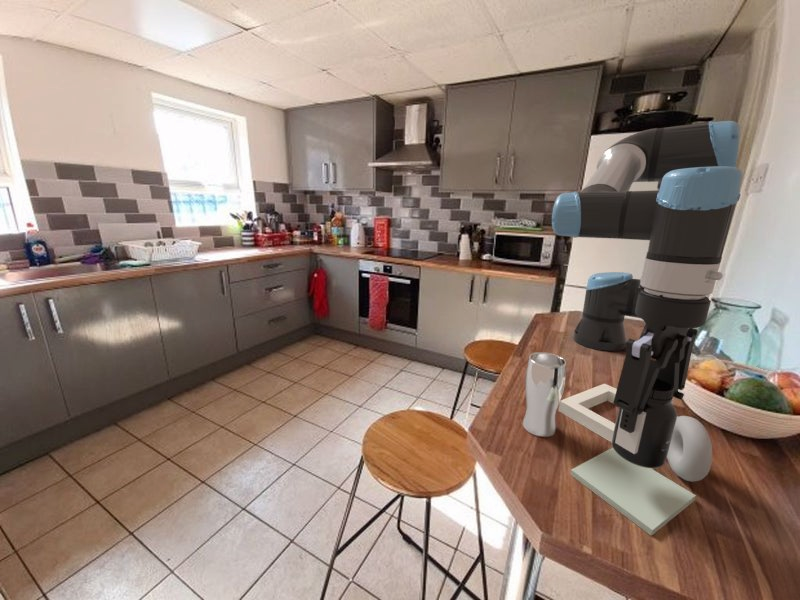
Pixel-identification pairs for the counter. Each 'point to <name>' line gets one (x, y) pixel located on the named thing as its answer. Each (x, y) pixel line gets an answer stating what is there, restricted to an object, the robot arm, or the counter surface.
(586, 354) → the counter surface
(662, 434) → the supplement bottle
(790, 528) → the counter surface
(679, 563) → the counter surface
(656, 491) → the mat
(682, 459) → the donut
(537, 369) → the beer glass
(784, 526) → the counter surface
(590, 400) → the holder
